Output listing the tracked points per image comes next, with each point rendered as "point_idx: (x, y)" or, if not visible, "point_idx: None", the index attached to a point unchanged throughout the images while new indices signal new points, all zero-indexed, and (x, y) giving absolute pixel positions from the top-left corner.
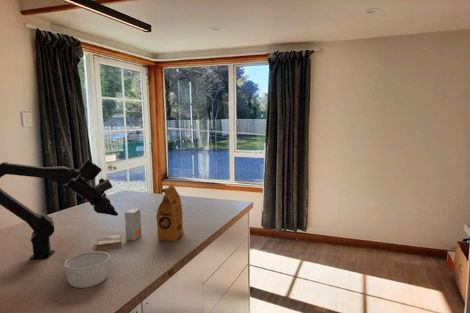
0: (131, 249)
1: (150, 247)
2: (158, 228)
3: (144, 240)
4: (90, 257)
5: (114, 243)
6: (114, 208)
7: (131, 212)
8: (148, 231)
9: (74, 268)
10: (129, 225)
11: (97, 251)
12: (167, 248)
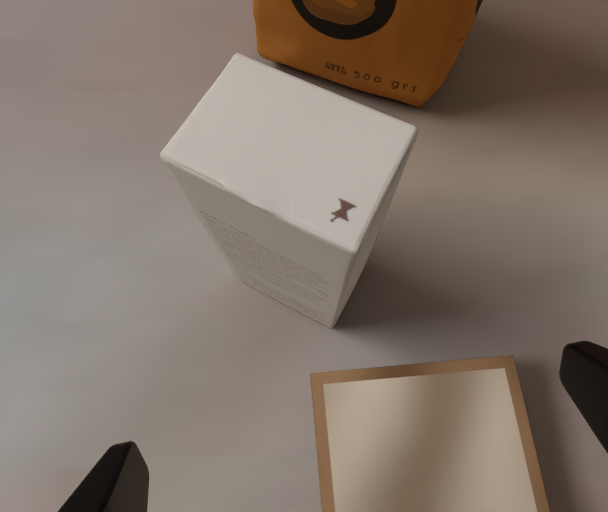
0: (540, 285)
1: (528, 165)
2: (455, 40)
3: None
4: None
5: (524, 415)
6: (131, 449)
7: (393, 153)
8: None
9: None
10: (364, 259)
11: None
12: (564, 75)
